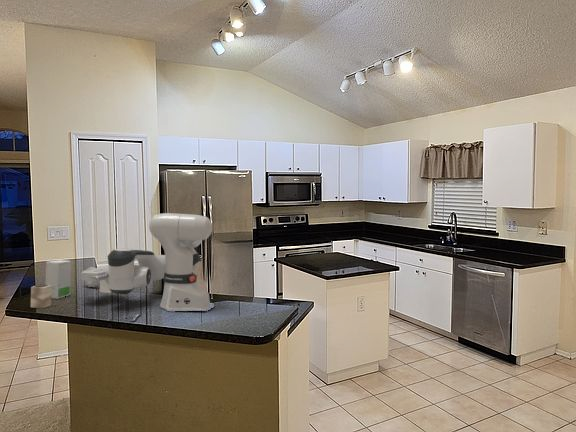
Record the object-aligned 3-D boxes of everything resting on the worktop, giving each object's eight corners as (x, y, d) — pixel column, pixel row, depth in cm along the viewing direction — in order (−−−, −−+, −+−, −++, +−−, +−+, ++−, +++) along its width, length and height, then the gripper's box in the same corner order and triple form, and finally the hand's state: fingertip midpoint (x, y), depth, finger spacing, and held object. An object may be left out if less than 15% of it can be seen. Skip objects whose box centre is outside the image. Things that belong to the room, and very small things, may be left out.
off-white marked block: (115, 290, 200) (116, 273, 200) (109, 292, 195) (110, 275, 195) (105, 289, 200) (106, 272, 200) (99, 292, 195) (100, 274, 195)
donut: (101, 288, 203) (101, 267, 202) (94, 289, 200) (95, 268, 199) (88, 285, 208) (89, 265, 207) (81, 286, 205) (82, 266, 204)
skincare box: (57, 299, 178) (58, 262, 178) (43, 297, 180) (44, 261, 179) (71, 295, 187) (72, 260, 186) (58, 293, 188) (59, 259, 187)
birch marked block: (51, 305, 169) (51, 284, 169) (42, 308, 164) (43, 287, 164) (39, 304, 170) (40, 283, 169) (30, 307, 165) (31, 286, 164)
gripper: (100, 285, 170) (68, 283, 172) (125, 277, 190) (97, 275, 192) (100, 270, 170) (69, 268, 172) (126, 263, 190) (97, 261, 192)
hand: (84, 271), depth 182 cm, fingers closed
